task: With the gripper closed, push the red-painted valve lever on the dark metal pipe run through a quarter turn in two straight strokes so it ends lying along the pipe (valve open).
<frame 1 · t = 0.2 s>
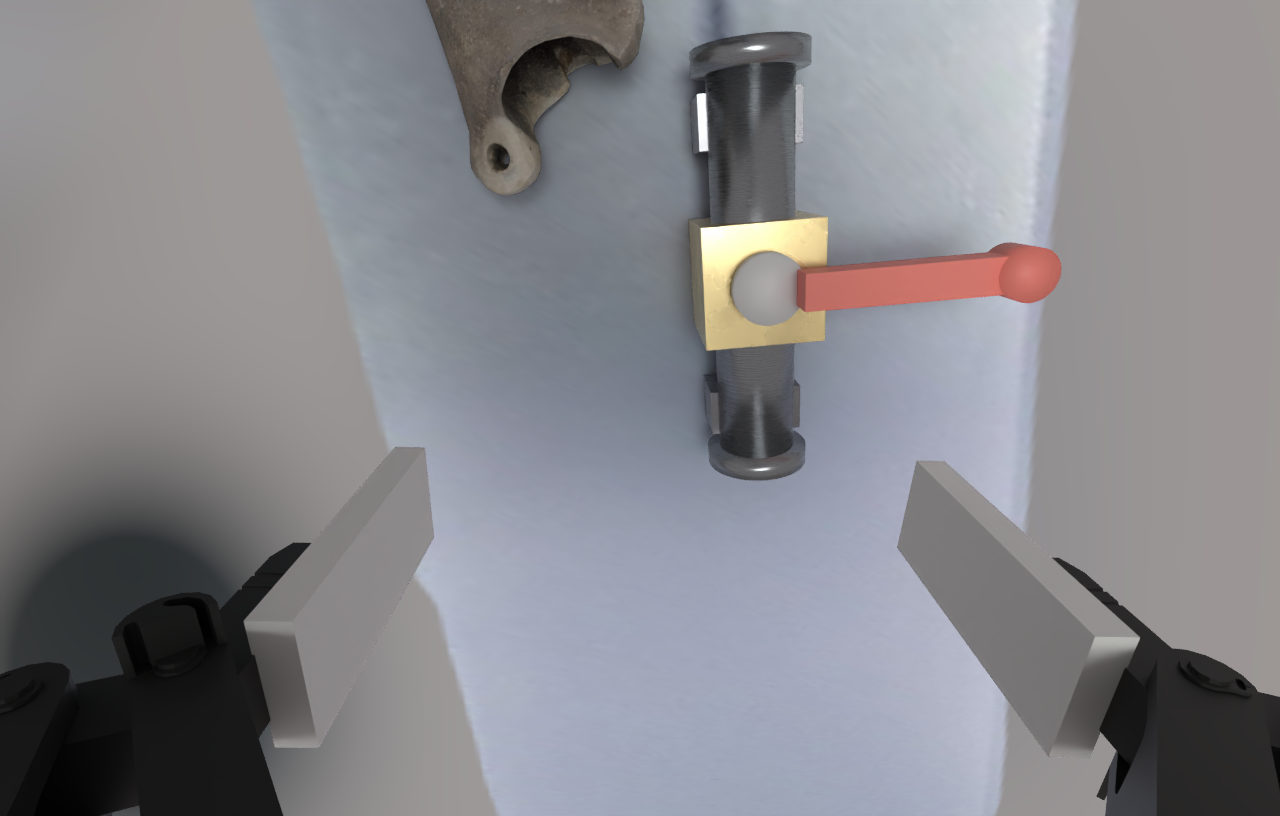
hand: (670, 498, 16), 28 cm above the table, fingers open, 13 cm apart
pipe: (532, 14, 36), on the table
valve pipe: (742, 267, 41), on the table
lever: (887, 282, 32), point 9 cm above the table, hinge at 90.0°
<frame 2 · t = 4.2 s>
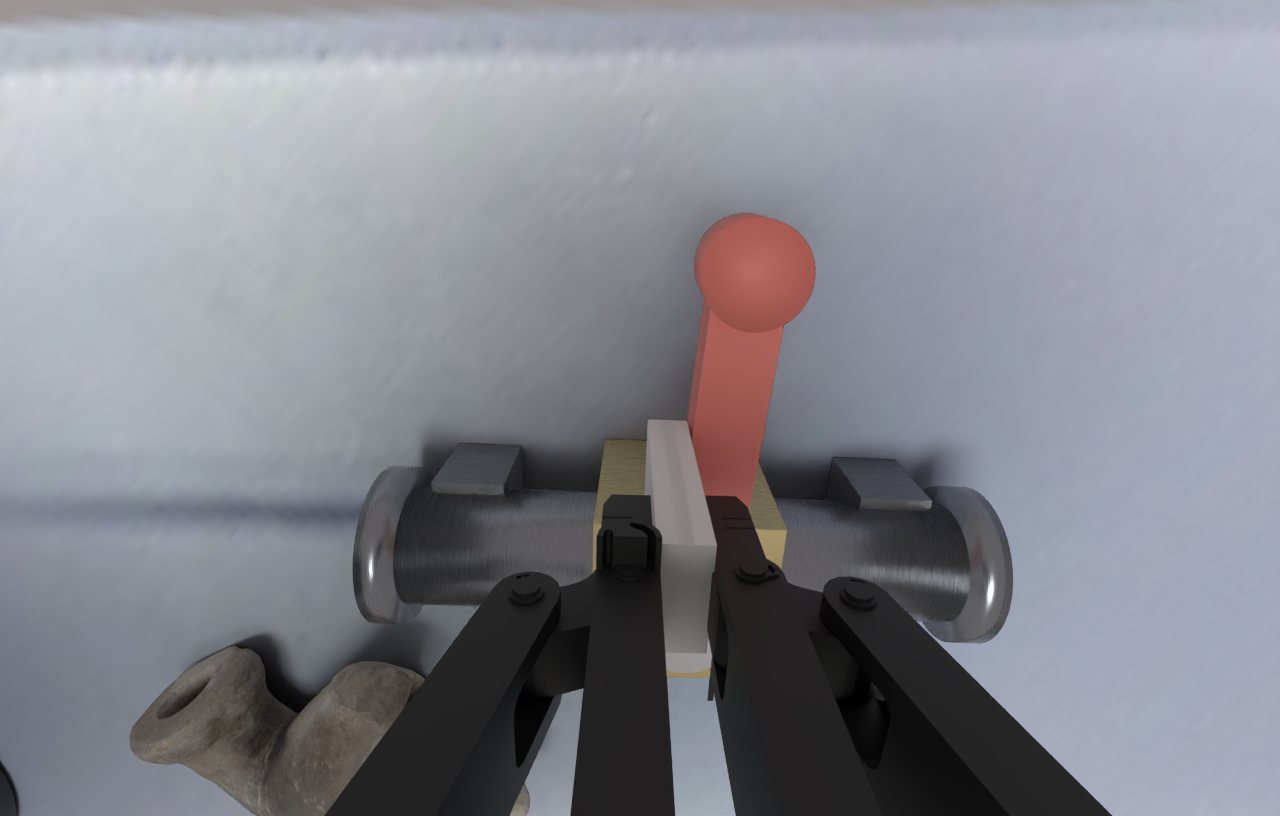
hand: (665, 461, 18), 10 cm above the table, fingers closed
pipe: (371, 693, 35), on the table
valve pipe: (673, 505, 30), on the table
lever: (712, 487, 19), point 9 cm above the table, hinge at 86.6°, touching gripper
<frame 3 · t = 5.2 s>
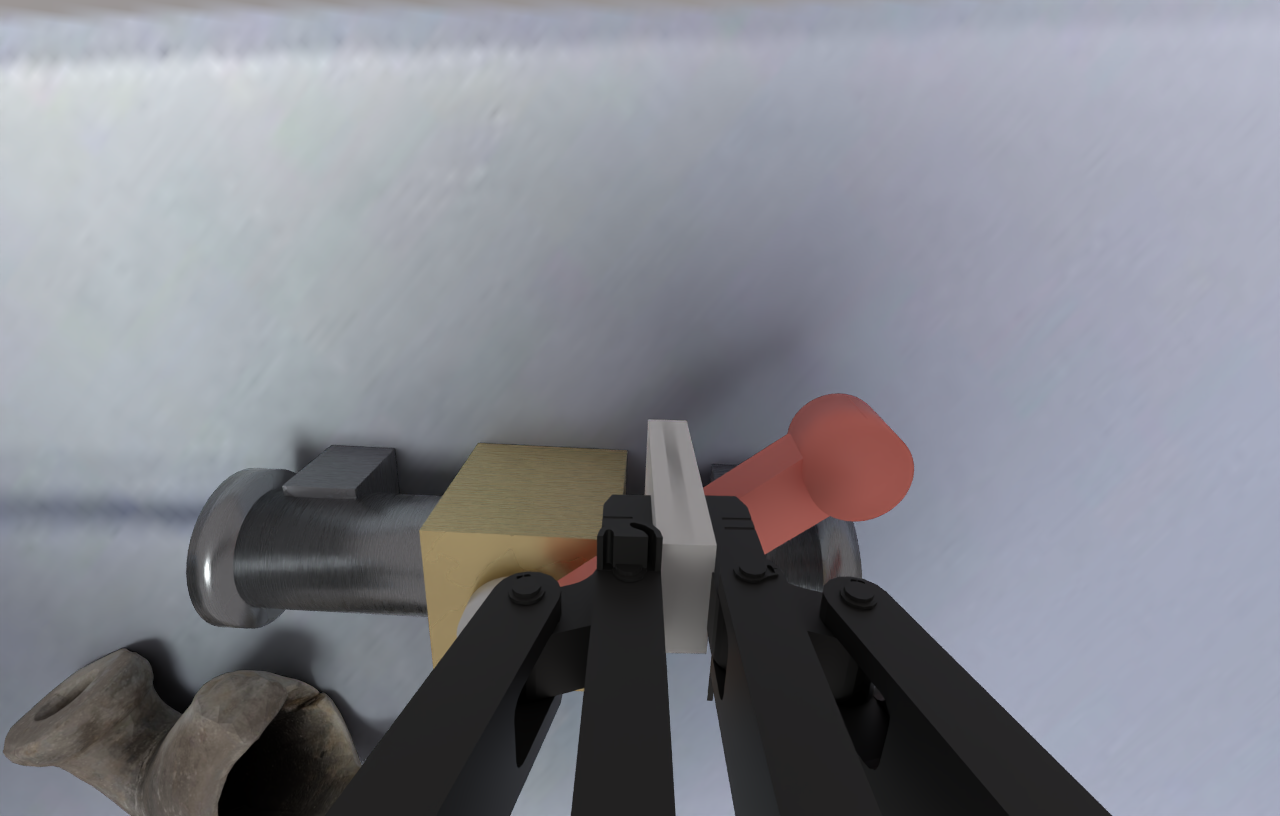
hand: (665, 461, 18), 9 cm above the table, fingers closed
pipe: (264, 700, 35), on the table
valve pipe: (553, 511, 29), on the table
lever: (654, 565, 19), point 9 cm above the table, hinge at 39.4°, touching gripper
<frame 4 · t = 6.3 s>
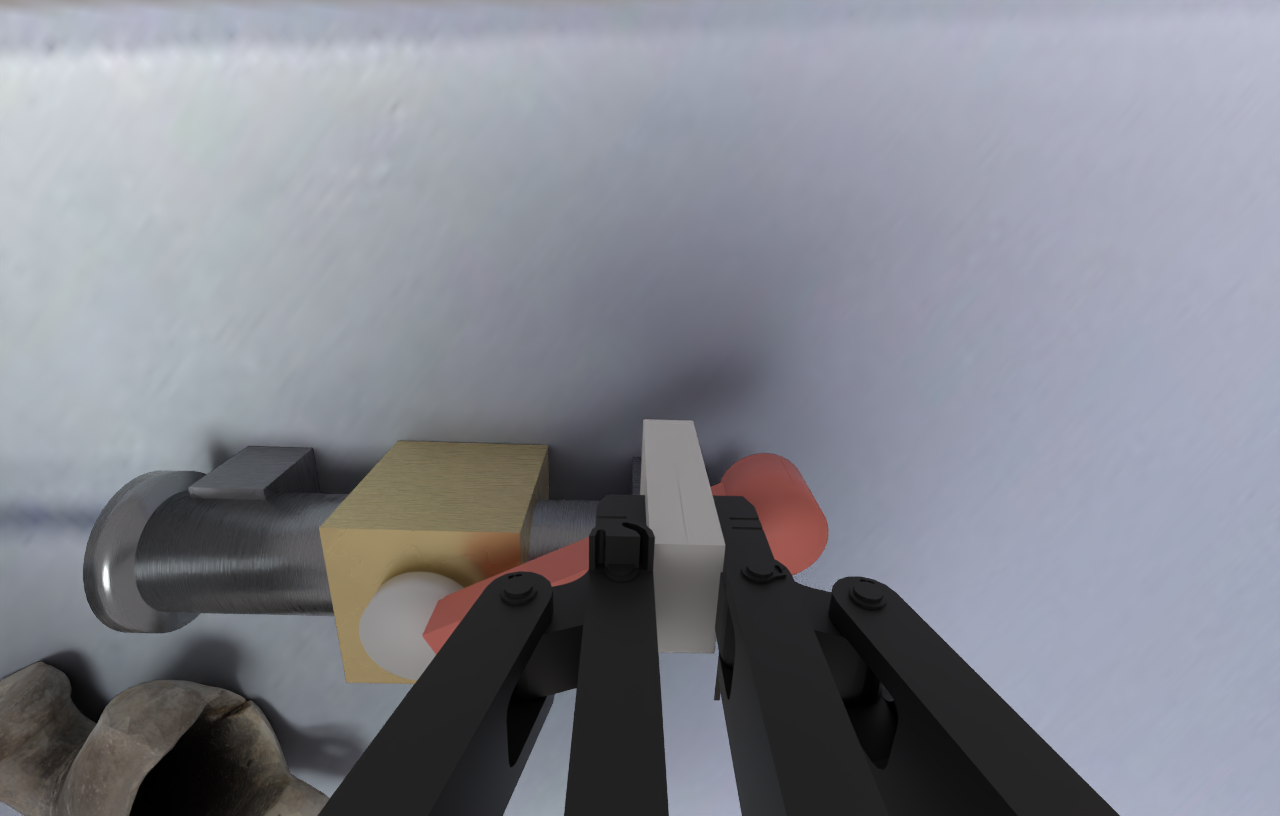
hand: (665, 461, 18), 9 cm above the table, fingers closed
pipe: (191, 710, 34), on the table
valve pipe: (477, 508, 29), on the table
lever: (572, 585, 20), point 9 cm above the table, hinge at 27.1°, touching gripper
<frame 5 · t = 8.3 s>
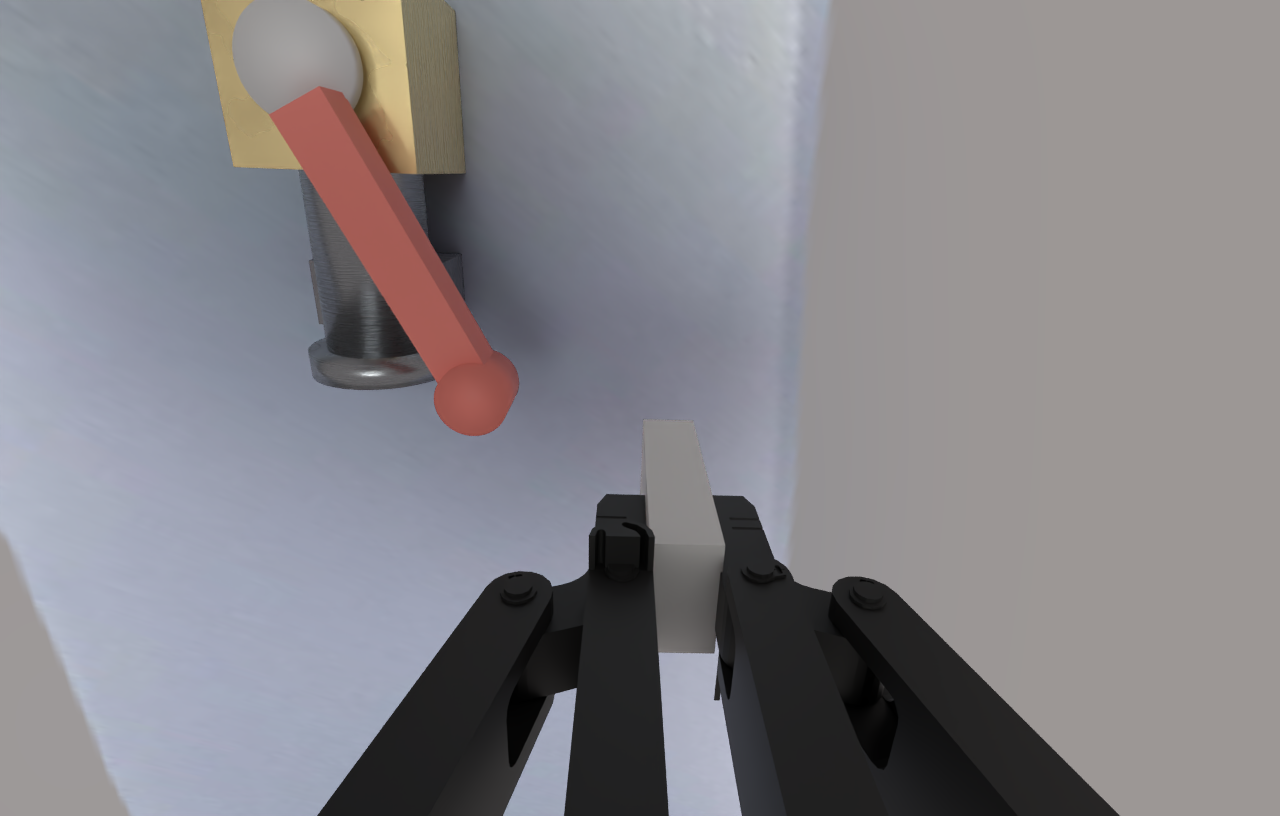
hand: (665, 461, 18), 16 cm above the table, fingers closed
valve pipe: (387, 92, 29), on the table
lever: (386, 232, 22), point 9 cm above the table, hinge at 27.1°
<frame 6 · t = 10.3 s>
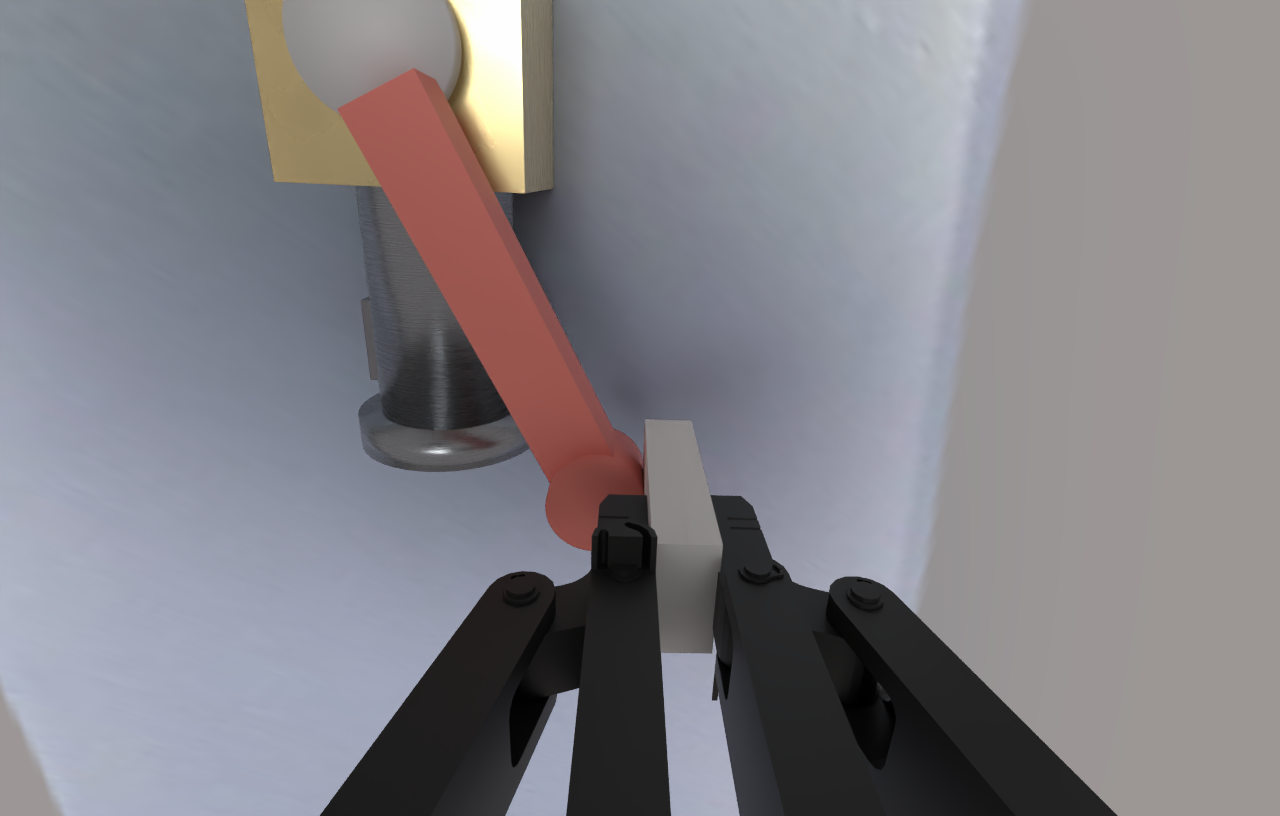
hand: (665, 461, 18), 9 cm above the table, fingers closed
valve pipe: (460, 86, 23), on the table
lever: (488, 275, 16), point 9 cm above the table, hinge at 26.6°, touching gripper
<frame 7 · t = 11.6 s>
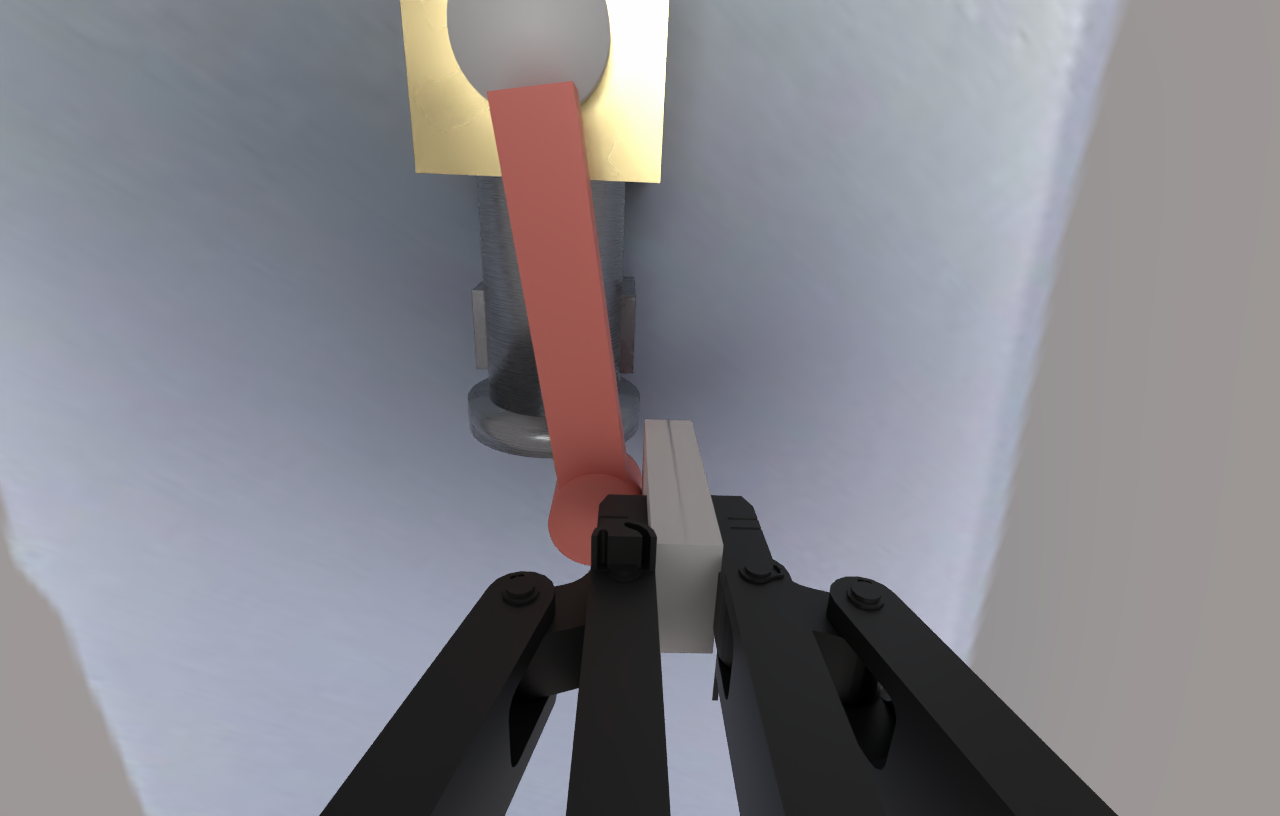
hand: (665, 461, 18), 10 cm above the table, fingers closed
valve pipe: (562, 77, 23), on the table
lever: (565, 282, 16), point 9 cm above the table, hinge at 8.5°, touching gripper
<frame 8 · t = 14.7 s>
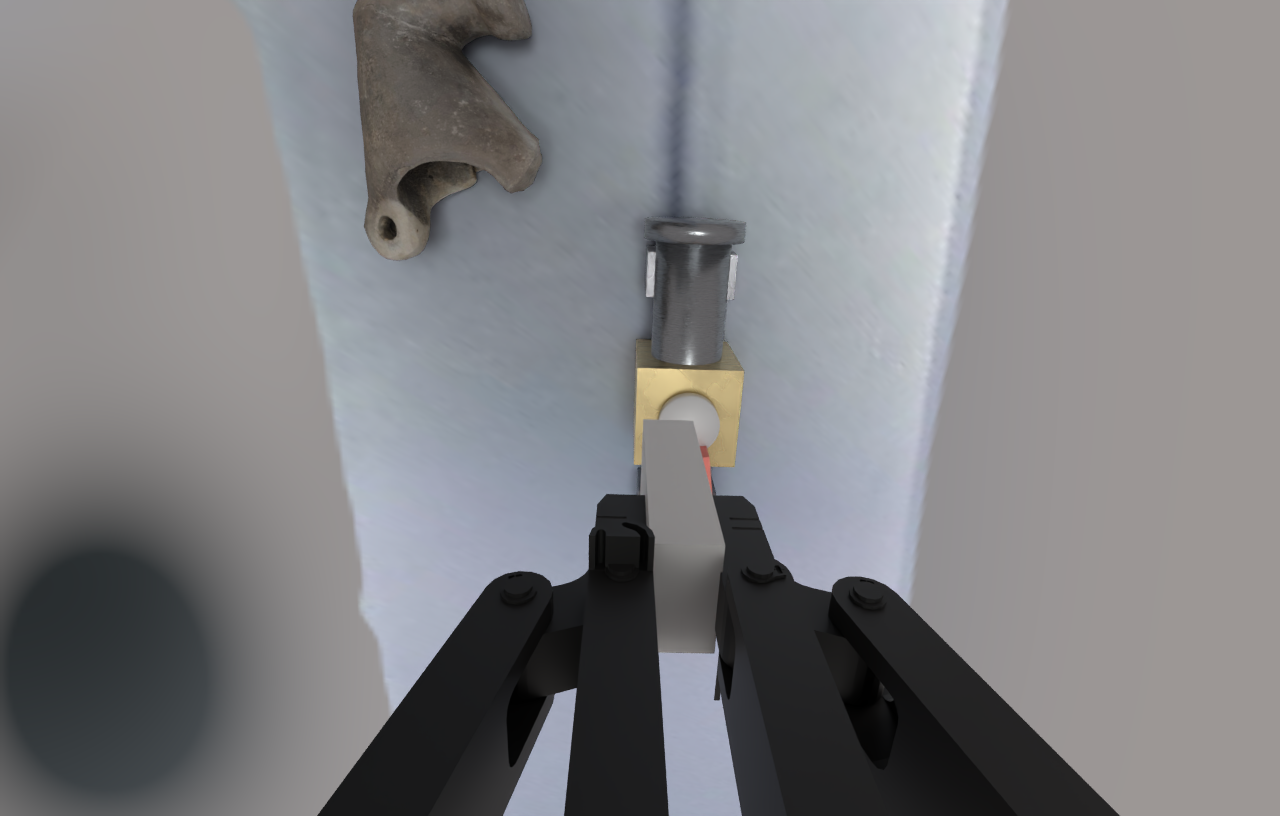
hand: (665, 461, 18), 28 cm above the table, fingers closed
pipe: (460, 111, 41), on the table
valve pipe: (679, 383, 47), on the table
lever: (697, 513, 41), point 9 cm above the table, hinge at 8.5°
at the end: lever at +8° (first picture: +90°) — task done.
